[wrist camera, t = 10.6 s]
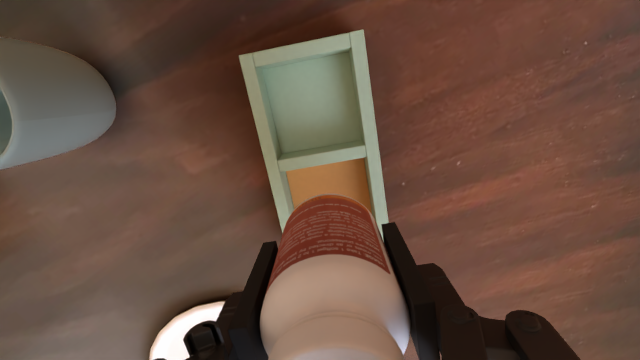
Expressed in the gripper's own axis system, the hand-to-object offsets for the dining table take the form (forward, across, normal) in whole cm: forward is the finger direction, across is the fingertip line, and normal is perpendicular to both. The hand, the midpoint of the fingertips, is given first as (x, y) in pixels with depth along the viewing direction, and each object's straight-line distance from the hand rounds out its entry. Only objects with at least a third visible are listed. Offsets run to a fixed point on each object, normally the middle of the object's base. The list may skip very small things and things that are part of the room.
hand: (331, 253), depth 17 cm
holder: (+10, 0, +4) cm, 11 cm away
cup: (+11, -19, +12) cm, 25 cm away
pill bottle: (+3, 0, 0) cm, 3 cm away
